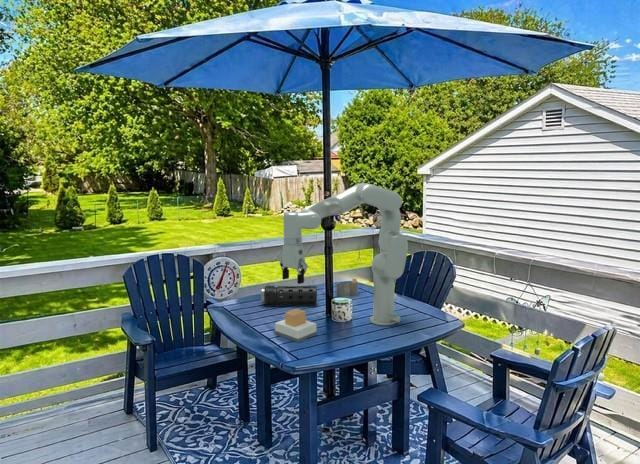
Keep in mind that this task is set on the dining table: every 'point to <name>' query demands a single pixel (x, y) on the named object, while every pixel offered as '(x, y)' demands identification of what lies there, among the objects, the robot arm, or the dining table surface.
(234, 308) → the dining table surface
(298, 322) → the plug
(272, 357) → the dining table surface
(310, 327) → the socket block
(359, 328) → the dining table surface
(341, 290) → the ruin model on sheet
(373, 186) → the robot arm
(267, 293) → the muzzle brake
